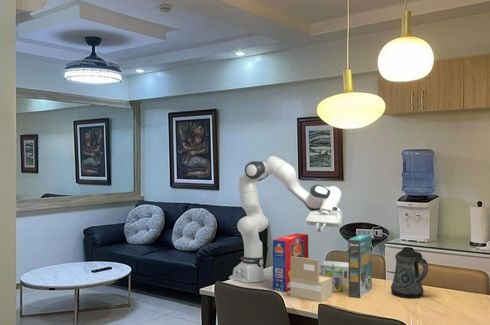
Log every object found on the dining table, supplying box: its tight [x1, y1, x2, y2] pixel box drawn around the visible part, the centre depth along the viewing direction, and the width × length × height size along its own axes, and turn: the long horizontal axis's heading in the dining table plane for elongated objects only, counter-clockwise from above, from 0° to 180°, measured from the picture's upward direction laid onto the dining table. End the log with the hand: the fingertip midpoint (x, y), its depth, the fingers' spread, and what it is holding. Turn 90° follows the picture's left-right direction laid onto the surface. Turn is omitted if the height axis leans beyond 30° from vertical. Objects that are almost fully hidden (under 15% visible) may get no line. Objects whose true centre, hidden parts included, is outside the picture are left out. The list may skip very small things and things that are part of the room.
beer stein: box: [390, 246, 429, 300], centre depth 254 cm, size 16×19×25 cm
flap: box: [291, 256, 320, 282], centre depth 246 cm, size 16×1×11 cm, turn 53°
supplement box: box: [319, 260, 349, 283], centre depth 291 cm, size 17×13×9 cm
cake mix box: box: [347, 233, 373, 299], centre depth 259 cm, size 22×6×30 cm, turn 150°
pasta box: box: [272, 233, 309, 293], centre depth 274 cm, size 28×8×28 cm, turn 146°
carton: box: [290, 274, 333, 303], centre depth 252 cm, size 18×12×10 cm
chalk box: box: [326, 263, 344, 293], centre depth 265 cm, size 9×9×15 cm
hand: (319, 231), depth 260 cm, fingers closed
